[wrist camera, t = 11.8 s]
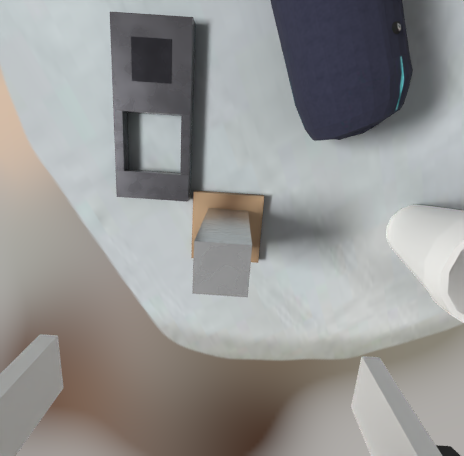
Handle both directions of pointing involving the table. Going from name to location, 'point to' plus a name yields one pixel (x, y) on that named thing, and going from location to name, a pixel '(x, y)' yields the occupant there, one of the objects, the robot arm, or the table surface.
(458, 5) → the table surface
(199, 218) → the pad
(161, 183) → the dark grey slotted board
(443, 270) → the foam cup
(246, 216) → the tall grey prism
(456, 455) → the robot arm
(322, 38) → the portable speaker
